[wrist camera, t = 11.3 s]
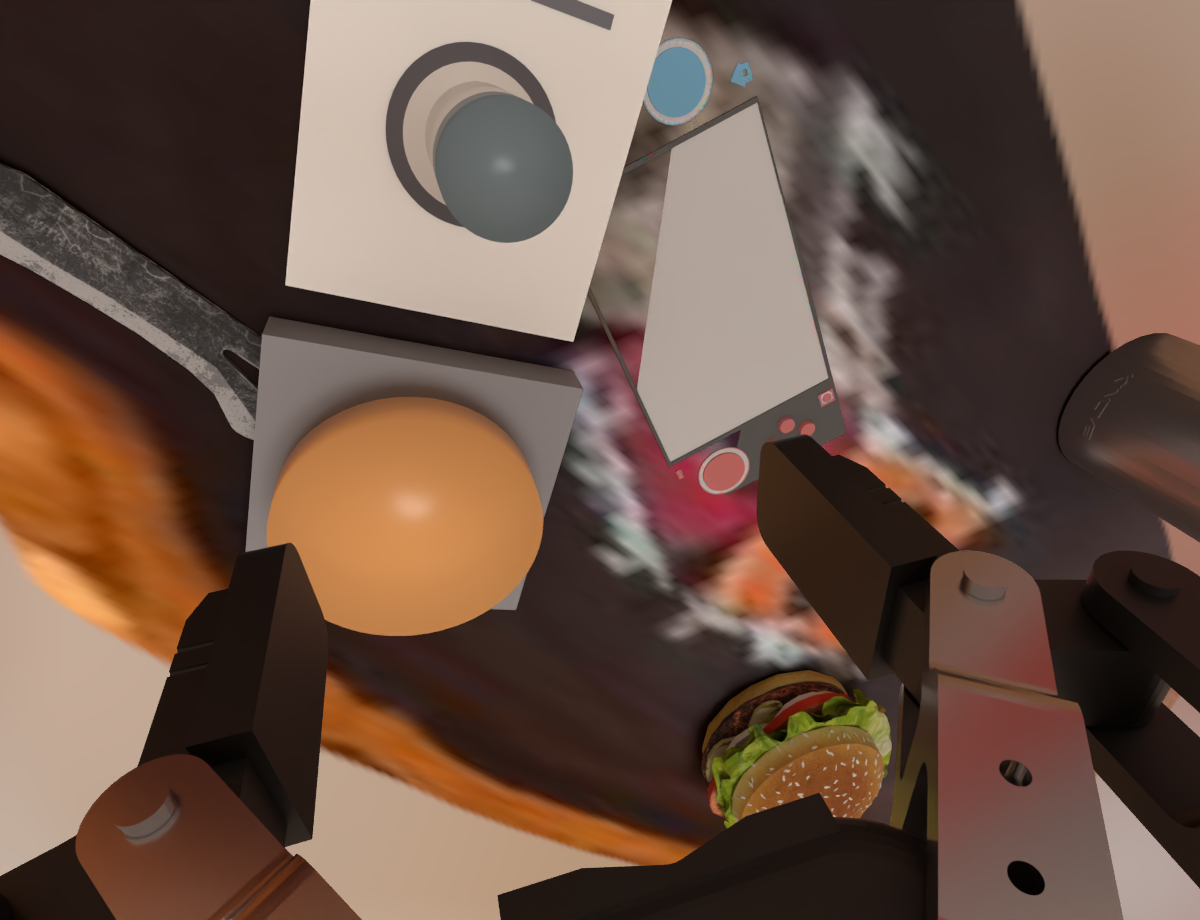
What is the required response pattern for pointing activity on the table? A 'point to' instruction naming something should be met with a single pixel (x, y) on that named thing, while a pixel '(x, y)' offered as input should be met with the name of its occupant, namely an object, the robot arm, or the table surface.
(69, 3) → the table surface
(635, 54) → the paper
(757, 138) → the gaming console
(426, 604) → the button
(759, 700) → the food
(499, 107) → the beige capped tube
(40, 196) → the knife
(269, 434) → the button base
